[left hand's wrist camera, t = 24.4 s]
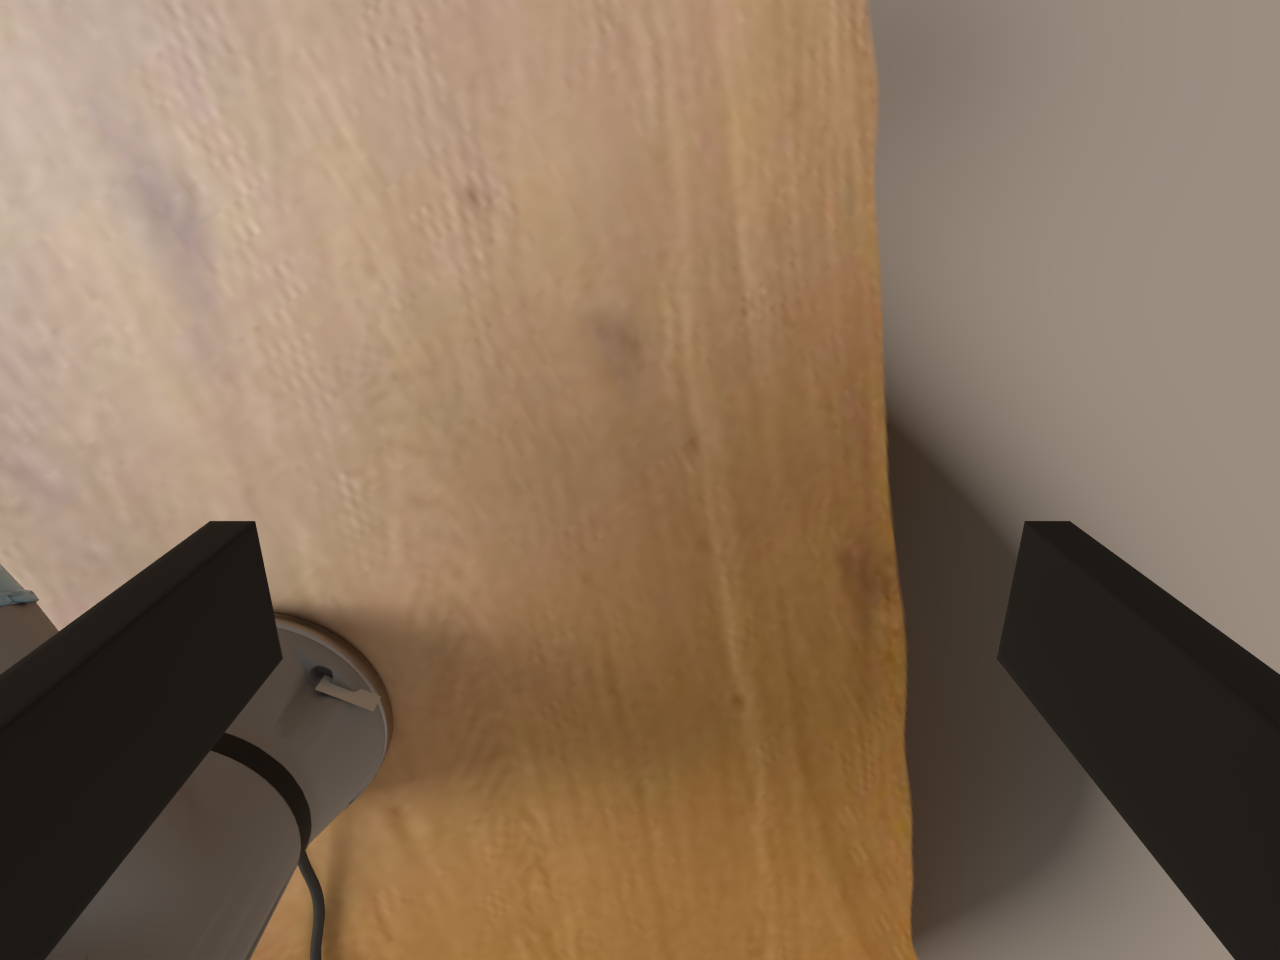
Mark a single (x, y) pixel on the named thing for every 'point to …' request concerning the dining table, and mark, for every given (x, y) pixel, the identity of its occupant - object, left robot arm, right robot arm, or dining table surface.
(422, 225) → the dining table surface
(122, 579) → the dining table surface
